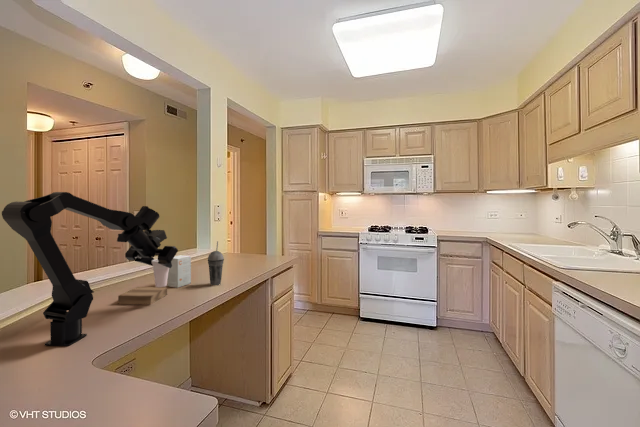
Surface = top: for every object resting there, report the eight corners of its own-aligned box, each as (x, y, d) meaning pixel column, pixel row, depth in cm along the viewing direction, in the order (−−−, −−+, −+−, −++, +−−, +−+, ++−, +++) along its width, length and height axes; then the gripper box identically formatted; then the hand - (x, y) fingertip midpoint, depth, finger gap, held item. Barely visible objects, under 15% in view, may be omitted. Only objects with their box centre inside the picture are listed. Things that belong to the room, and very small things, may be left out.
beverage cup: (203, 285, 138) (204, 242, 138) (213, 281, 145) (214, 240, 145) (217, 287, 136) (217, 243, 135) (226, 283, 143) (227, 241, 142)
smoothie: (165, 288, 110) (165, 250, 109) (147, 288, 110) (147, 249, 109) (173, 283, 116) (174, 247, 116) (157, 283, 116) (157, 247, 116)
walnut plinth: (150, 304, 112) (150, 296, 111) (118, 303, 112) (118, 295, 111) (167, 294, 124) (167, 287, 123) (137, 294, 124) (137, 286, 123)
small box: (180, 282, 143) (180, 254, 143) (191, 283, 141) (191, 255, 141) (166, 286, 136) (166, 257, 135) (177, 287, 134) (177, 258, 133)
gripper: (174, 223, 106) (195, 250, 117) (132, 221, 111) (155, 248, 122) (156, 249, 98) (180, 275, 109) (112, 245, 103) (139, 271, 114)
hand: (163, 266), depth 114 cm, fingers closed on smoothie, 6 cm apart
